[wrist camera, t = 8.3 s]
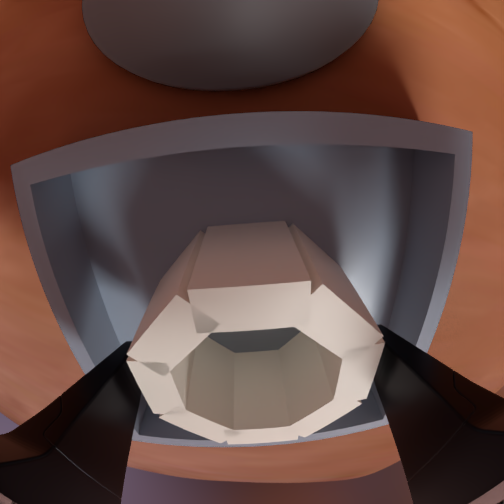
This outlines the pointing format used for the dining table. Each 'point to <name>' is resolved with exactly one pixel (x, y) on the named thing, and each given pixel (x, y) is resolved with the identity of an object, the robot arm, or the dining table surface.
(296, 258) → the ring
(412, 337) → the tray
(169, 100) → the dining table surface
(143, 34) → the stake
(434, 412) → the robot arm
